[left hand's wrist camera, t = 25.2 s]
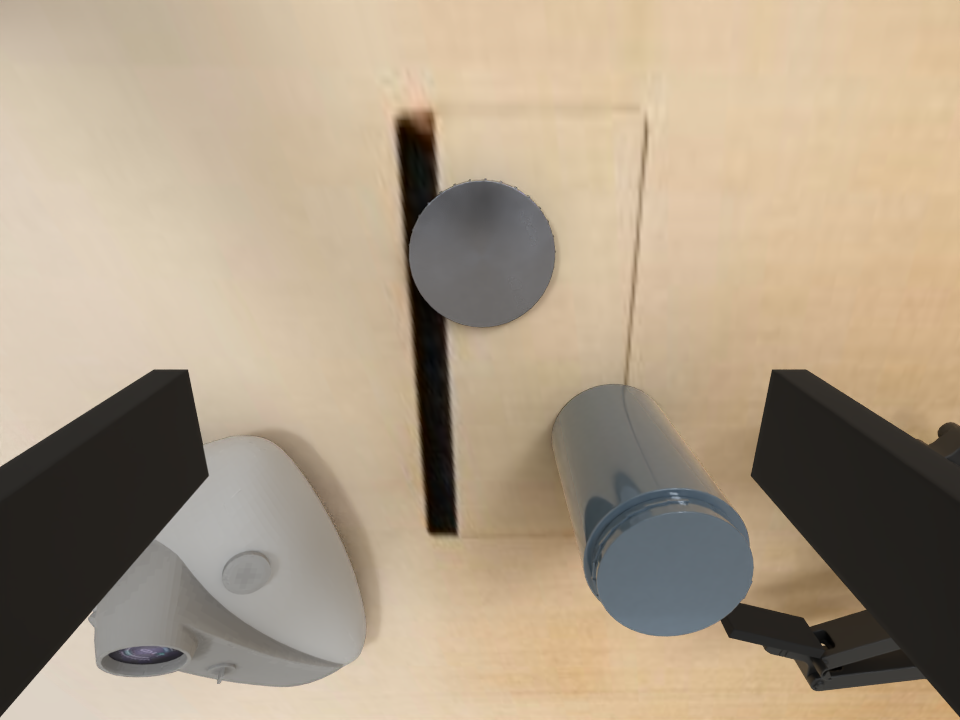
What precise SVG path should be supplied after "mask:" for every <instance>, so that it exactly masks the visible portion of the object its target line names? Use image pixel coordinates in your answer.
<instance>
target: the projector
mask: <svg viewBox="0 0 960 720" xmlns="http://www.w3.org/2000/svg"><path fill="white" fill-rule="evenodd" d="M203 448H204V453H205V458H206V463H207V468H208V473H209V477H208V478H207V479H206V480H205V481H204V482H203V483H202V485H201V486H200V487H199V488H198V489H197V490H196V492H195V493H194V494H193V495H192V496H191V497H190V498H189V500H188V501H187V502H186V503H185V504H184V505H183V507H182V508H181V509H180V510H179V511H178V512H177V513H176V515H175V516H174V517H173V518H172V519H171V520H170V522H169V523H168V524H167V525H166V526H165V527H164V529H163V530H162V531H161V532H160V533H159V534H158V535H157V537H156V538H155V539H154V540H153V541H152V542H151V544H150V545H149V546H148V547H147V548H146V549H145V550H144V552H143V553H142V554H141V555H140V556H139V557H138V559H137V560H136V561H135V562H134V563H133V564H132V565H131V567H130V568H129V569H128V570H127V571H126V572H125V574H124V575H123V576H122V577H121V578H120V579H119V580H118V582H117V583H116V584H115V585H114V586H113V587H112V589H111V590H110V591H109V592H108V593H107V594H106V595H105V597H104V598H103V599H102V600H101V601H100V602H99V604H98V605H97V606H96V607H95V608H94V609H93V613H92V614H91V616H90V617H89V618H88V620H89V622H90V623H91V624H92V626H93V627H94V628H95V637H94V643H95V655H96V664H97V666H98V668H99V669H101V670H103V671H104V672H107V673H110V674H113V675H118V676H124V677H151V676H159V675H164V674H169V673H173V672H176V671H181V672H185V673H189V674H193V675H198V676H202V677H207V678H212V679H217V684H220V683H221V681H222V680H223V681H229V682H236V683H243V684H252V685H262V686H274V687H291V686H299V685H303V684H307V683H311V682H314V681H316V680H319V679H322V678H324V677H326V676H328V675H330V674H332V673H334V672H336V671H337V670H339V669H340V668H342V667H343V666H345V665H347V664H349V663H351V662H352V661H354V660H355V659H356V658H357V657H358V656H359V655H360V653H361V651H362V648H363V645H364V642H365V637H366V618H365V611H364V606H363V601H362V597H361V593H360V589H359V586H358V583H357V579H356V576H355V573H354V570H353V567H352V565H351V562H350V560H349V557H348V555H347V552H346V550H345V548H344V545H343V543H342V541H341V539H340V537H339V535H338V533H337V530H336V529H335V527H334V525H333V523H332V521H331V519H330V517H329V515H328V513H327V512H326V510H325V508H324V507H323V505H322V503H321V501H320V500H319V498H318V496H317V495H316V493H315V492H314V490H313V488H312V487H311V485H310V484H309V482H308V481H307V479H306V478H305V476H304V475H303V474H302V472H301V471H300V469H299V468H298V467H297V465H296V464H295V463H294V462H293V461H292V459H291V458H290V457H289V456H288V455H287V454H286V453H285V452H284V451H283V450H282V449H281V448H280V447H279V446H277V445H276V444H275V443H273V442H271V441H270V440H267V439H265V438H262V437H257V436H232V437H227V438H223V439H220V440H216V441H213V442H210V443H207V444H204V445H203Z"/></svg>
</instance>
